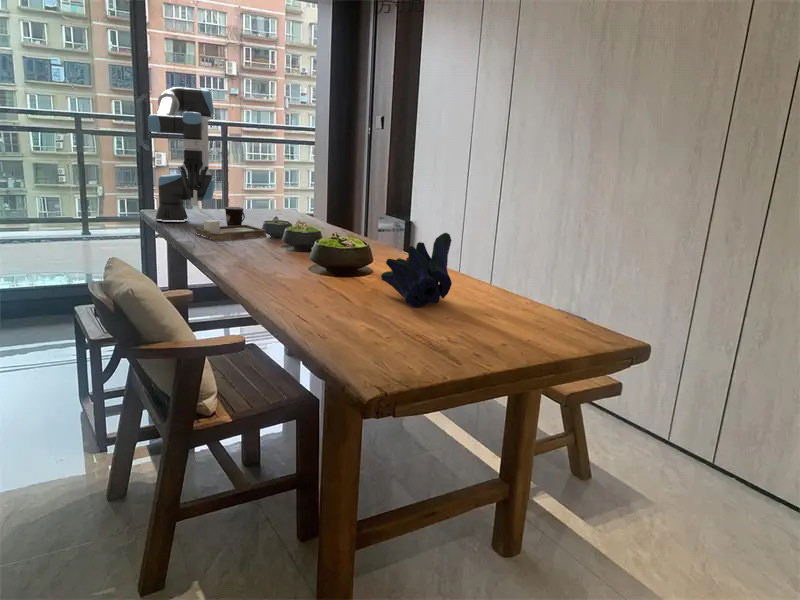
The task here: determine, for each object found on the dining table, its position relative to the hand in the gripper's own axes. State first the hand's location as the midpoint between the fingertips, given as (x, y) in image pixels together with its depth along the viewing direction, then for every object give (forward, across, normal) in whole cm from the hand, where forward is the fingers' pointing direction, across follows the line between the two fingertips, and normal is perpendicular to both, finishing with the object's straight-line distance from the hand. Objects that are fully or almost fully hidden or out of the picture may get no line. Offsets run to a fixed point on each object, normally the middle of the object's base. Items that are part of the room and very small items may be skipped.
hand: (194, 205), depth 271 cm
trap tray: (+14, +16, -3) cm, 22 cm away
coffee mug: (+14, +27, +12) cm, 33 cm away
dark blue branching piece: (+14, +9, -126) cm, 127 cm away
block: (+12, +7, -1) cm, 14 cm away
